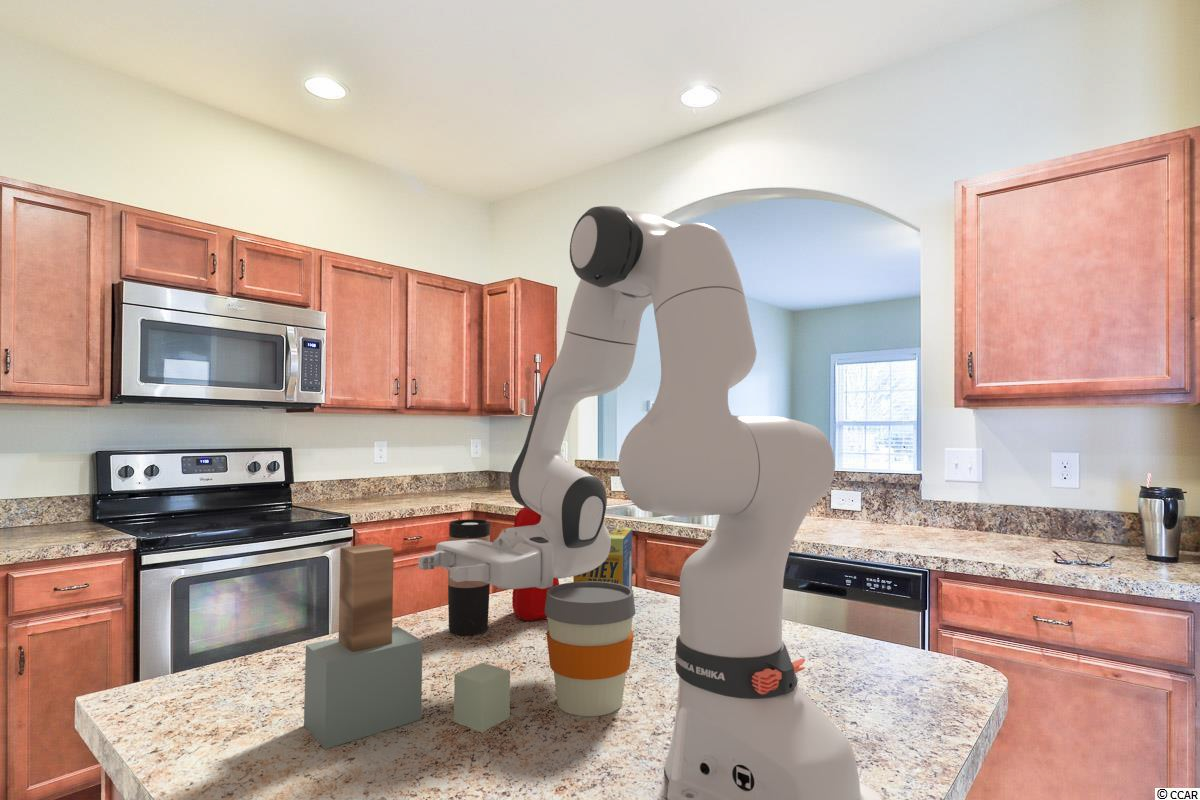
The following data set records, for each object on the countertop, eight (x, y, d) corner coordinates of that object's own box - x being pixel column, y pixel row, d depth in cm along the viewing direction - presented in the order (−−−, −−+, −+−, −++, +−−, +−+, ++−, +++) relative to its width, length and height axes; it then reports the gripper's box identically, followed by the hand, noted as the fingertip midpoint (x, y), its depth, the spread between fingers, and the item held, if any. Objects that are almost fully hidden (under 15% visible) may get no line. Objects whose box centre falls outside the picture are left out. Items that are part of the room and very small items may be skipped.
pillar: (391, 643, 82) (393, 548, 83) (352, 652, 79) (354, 553, 79) (376, 633, 86) (378, 543, 86) (338, 641, 83) (340, 547, 83)
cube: (509, 717, 84) (510, 670, 84) (482, 732, 79) (482, 683, 80) (481, 708, 86) (482, 662, 87) (453, 722, 82) (454, 674, 82)
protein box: (572, 613, 131) (572, 536, 132) (587, 594, 146) (587, 525, 147) (623, 616, 129) (623, 538, 130) (633, 596, 144) (633, 527, 145)
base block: (421, 719, 83) (422, 640, 83) (324, 749, 75) (326, 662, 75) (395, 699, 89) (396, 626, 89) (303, 725, 81) (305, 644, 81)
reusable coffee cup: (651, 695, 90) (650, 587, 91) (606, 731, 80) (607, 608, 80) (575, 678, 97) (576, 577, 98) (525, 708, 86) (526, 595, 87)
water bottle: (520, 626, 122) (521, 494, 123) (509, 610, 132) (510, 488, 134) (567, 621, 125) (567, 492, 126) (553, 607, 135) (554, 487, 137)
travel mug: (439, 634, 117) (441, 523, 118) (460, 622, 124) (461, 518, 125) (477, 638, 115) (478, 525, 116) (496, 625, 122) (497, 520, 123)
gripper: (484, 527, 106) (404, 536, 97) (559, 544, 91) (472, 557, 82) (483, 565, 106) (403, 578, 97) (559, 589, 90) (472, 607, 81)
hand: (435, 568), depth 89 cm, fingers open, 8 cm apart
